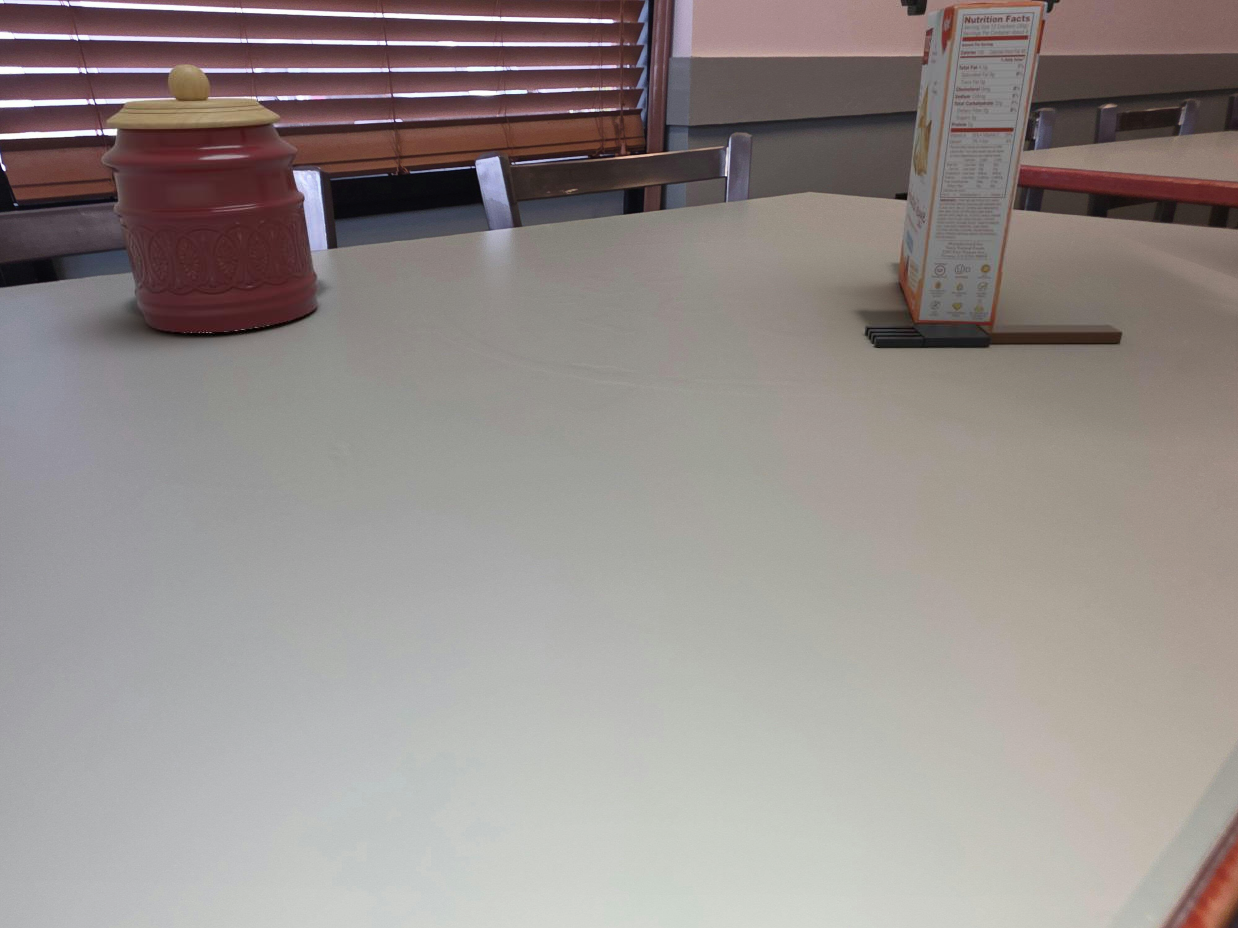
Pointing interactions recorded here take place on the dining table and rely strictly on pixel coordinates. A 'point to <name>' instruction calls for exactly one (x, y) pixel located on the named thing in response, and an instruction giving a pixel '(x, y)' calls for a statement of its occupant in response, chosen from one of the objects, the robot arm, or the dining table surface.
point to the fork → (987, 334)
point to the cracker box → (967, 157)
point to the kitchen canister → (210, 211)
